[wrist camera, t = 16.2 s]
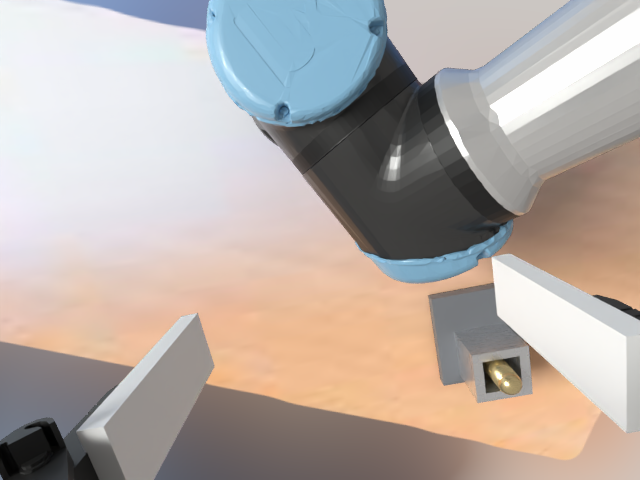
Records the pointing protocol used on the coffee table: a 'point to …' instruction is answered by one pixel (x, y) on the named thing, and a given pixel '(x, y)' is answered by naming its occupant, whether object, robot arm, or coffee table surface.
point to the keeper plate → (460, 323)
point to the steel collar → (491, 359)
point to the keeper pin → (503, 376)
